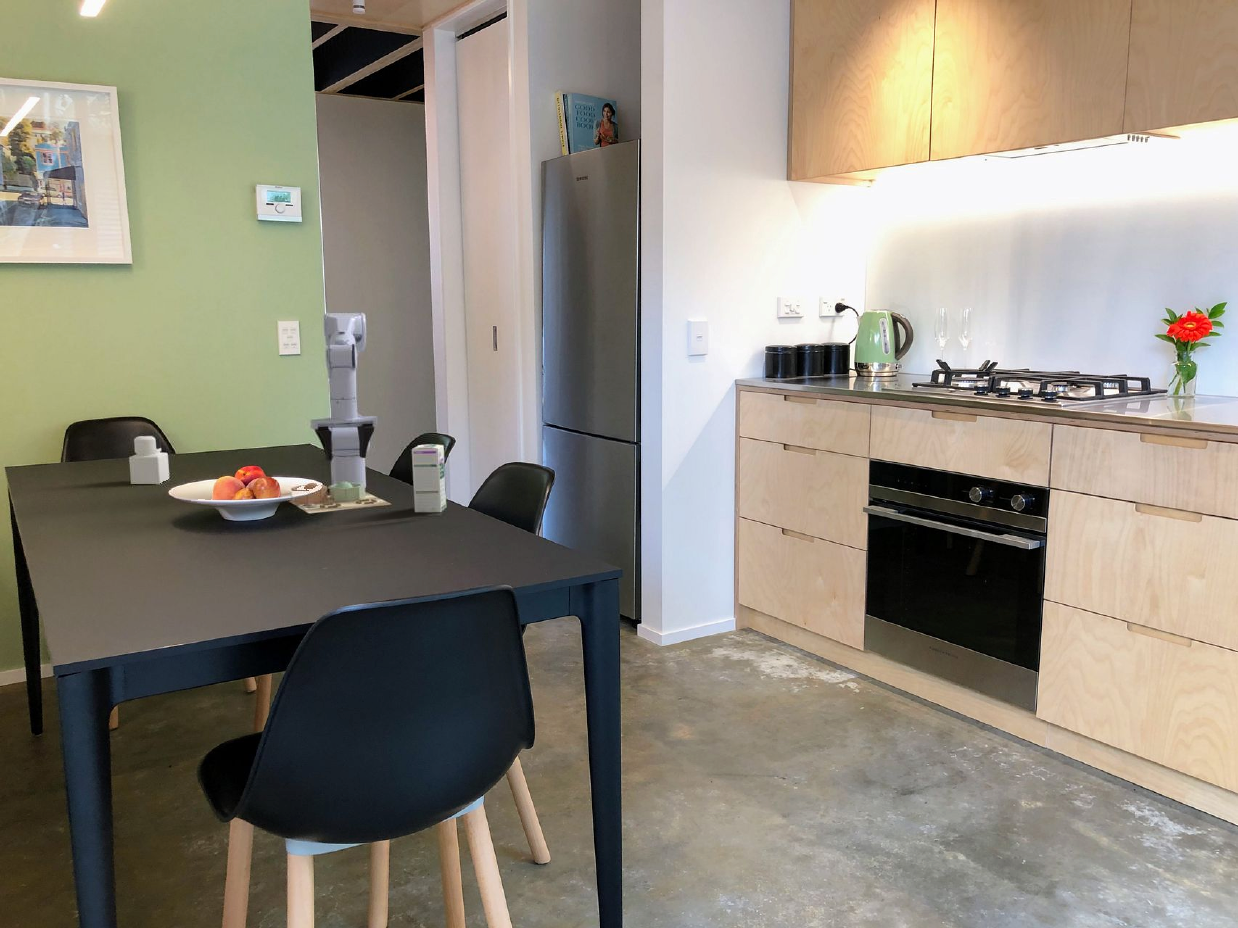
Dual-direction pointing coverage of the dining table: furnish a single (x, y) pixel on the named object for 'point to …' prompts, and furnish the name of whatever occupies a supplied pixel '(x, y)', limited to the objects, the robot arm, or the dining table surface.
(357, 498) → the green octagonal ring
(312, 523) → the dining table surface
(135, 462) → the medicine bottle
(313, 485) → the terracotta ball
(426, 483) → the syrup box
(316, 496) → the terracotta tube
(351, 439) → the robot arm
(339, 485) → the sage ball
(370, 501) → the board
